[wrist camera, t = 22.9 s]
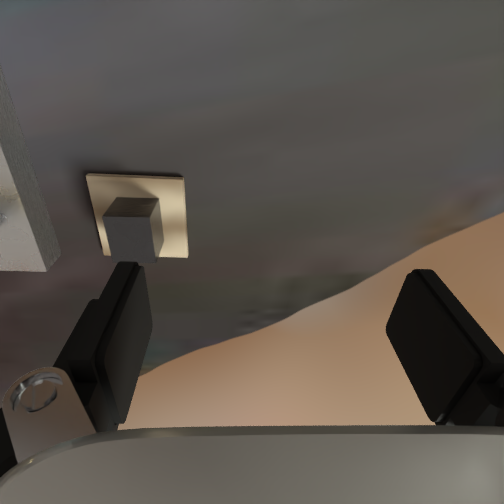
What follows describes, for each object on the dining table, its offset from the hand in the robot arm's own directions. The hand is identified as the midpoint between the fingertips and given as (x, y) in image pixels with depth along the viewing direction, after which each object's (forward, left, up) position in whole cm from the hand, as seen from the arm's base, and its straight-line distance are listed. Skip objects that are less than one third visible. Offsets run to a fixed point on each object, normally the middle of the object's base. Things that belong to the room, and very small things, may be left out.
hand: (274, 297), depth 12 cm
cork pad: (+12, -13, -28) cm, 33 cm away
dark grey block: (+12, -13, -28) cm, 33 cm away
